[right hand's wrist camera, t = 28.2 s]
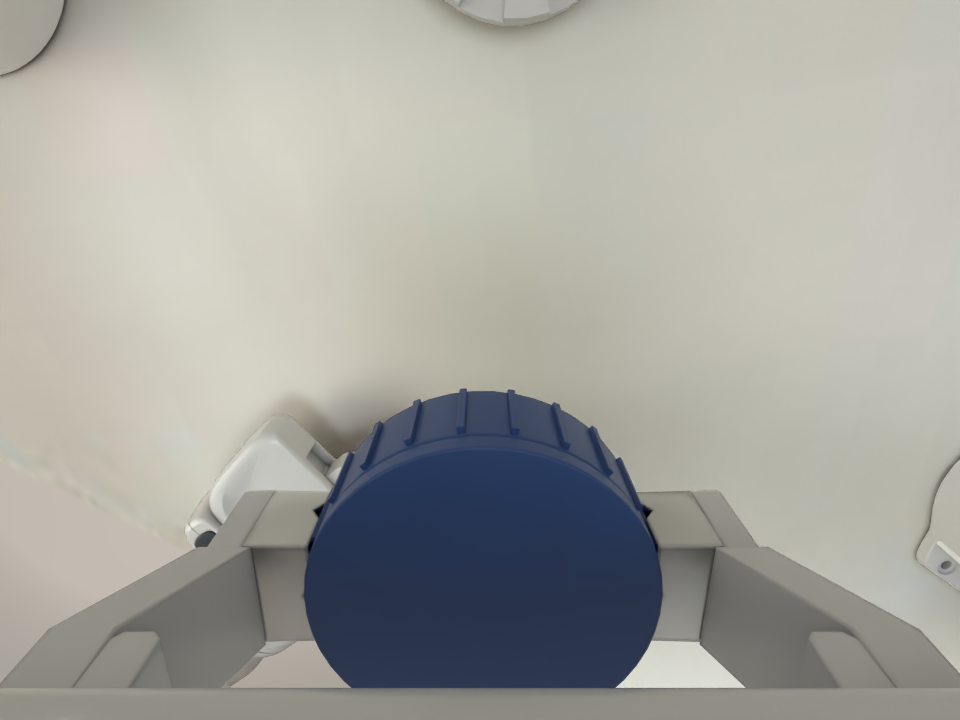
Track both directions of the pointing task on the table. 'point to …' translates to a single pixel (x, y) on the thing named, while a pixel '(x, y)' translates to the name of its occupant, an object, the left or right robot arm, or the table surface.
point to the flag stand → (511, 10)
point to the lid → (483, 553)
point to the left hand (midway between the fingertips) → (423, 478)
